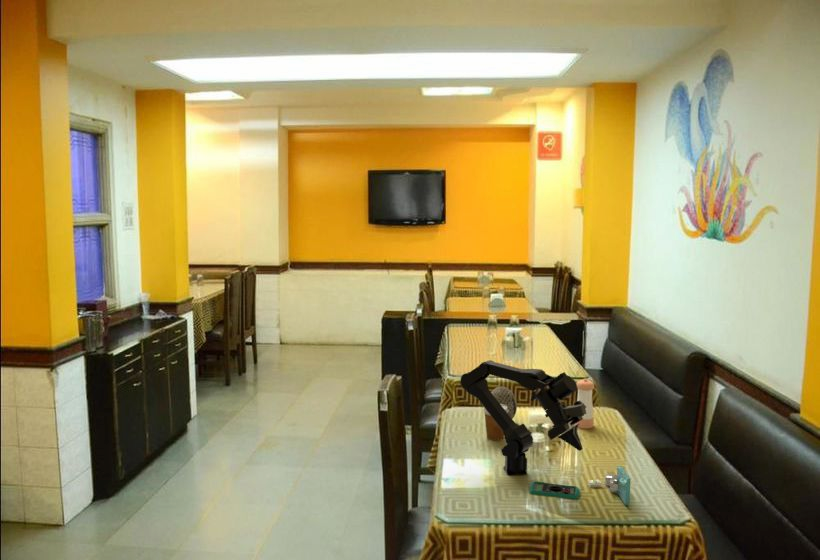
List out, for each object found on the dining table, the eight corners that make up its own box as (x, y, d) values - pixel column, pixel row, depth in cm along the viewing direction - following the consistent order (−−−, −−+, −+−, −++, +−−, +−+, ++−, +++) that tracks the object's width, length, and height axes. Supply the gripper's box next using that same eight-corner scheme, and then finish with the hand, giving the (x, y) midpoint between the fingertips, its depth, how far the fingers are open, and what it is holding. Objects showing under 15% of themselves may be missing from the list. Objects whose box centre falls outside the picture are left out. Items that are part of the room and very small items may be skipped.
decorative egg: (508, 429, 259) (509, 392, 257) (482, 424, 265) (482, 387, 263) (521, 421, 268) (521, 385, 266) (494, 416, 275) (495, 381, 273)
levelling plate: (601, 506, 195) (602, 493, 194) (586, 486, 208) (586, 474, 207) (634, 505, 195) (635, 492, 195) (616, 485, 209) (617, 473, 208)
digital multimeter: (579, 505, 197) (579, 495, 196) (528, 498, 201) (529, 489, 200) (580, 494, 204) (580, 485, 203) (531, 488, 208) (531, 479, 207)
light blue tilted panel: (608, 488, 204) (609, 461, 203) (622, 488, 204) (623, 462, 203) (619, 506, 192) (620, 478, 191) (634, 506, 192) (636, 478, 191)
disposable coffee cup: (512, 436, 252) (512, 405, 250) (501, 443, 244) (502, 412, 242) (489, 431, 257) (489, 401, 255) (478, 438, 249) (478, 408, 247)
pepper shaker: (595, 428, 260) (597, 381, 257) (576, 428, 260) (578, 381, 257) (590, 422, 267) (592, 376, 264) (572, 422, 267) (574, 376, 265)
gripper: (563, 398, 197) (594, 444, 192) (581, 388, 213) (610, 430, 208) (534, 416, 201) (564, 462, 197) (554, 405, 217) (581, 447, 213)
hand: (581, 449), depth 204 cm, fingers closed
